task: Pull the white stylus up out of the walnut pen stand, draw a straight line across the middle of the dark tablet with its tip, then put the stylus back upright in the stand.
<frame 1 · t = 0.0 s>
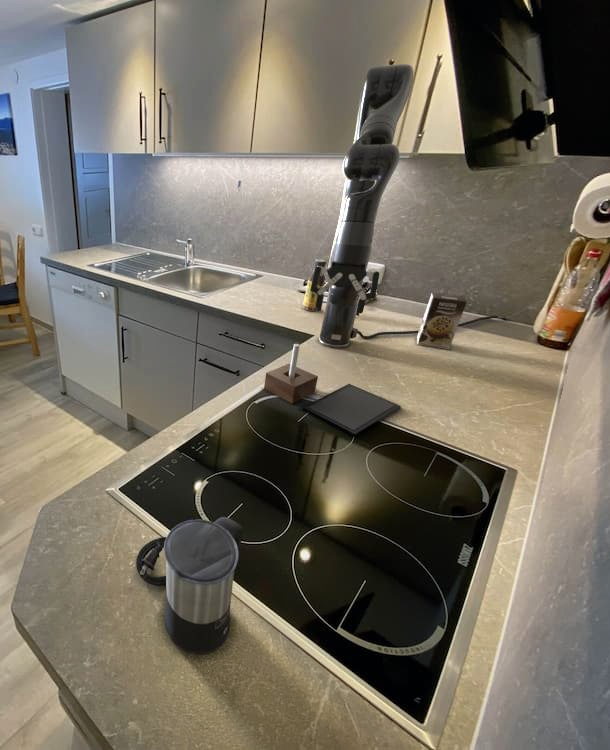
hand: (337, 312, 101), 22 cm above the worktop, tool pointing down, fingers open, 8 cm apart
stylus: (292, 368, 109), in the stand
milk frother: (179, 597, 61), on the worktop
tablet: (351, 409, 104), on the worktop
brown upright rectangular box: (432, 344, 137), on the worktop
stand: (289, 390, 112), on the worktop
sauce bottle: (310, 309, 169), on the worktop
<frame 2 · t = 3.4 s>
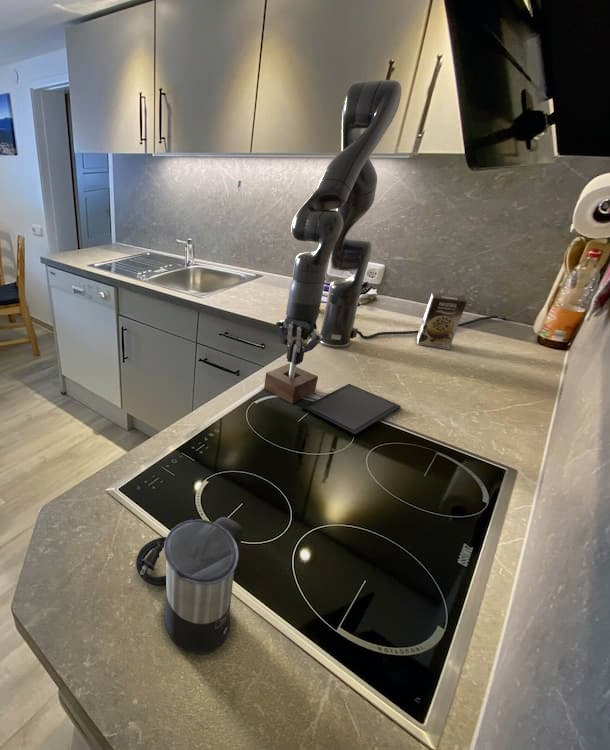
hand: (293, 362, 108), 9 cm above the worktop, tool pointing down, fingers closed on stylus, 1 cm apart
stylus: (292, 368, 109), in the stand, touching gripper
everything else where it was.
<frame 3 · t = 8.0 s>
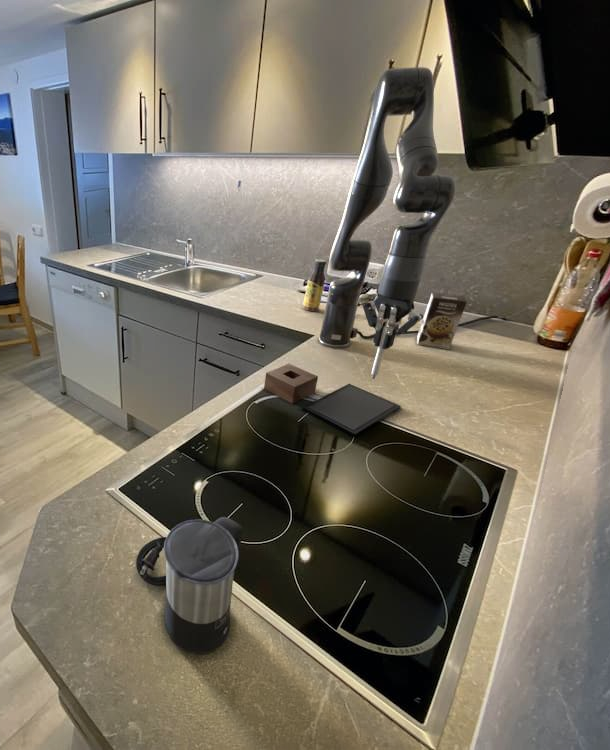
hand: (381, 346, 100), 15 cm above the worktop, tool pointing down, fingers closed on stylus, 1 cm apart
stylus: (379, 353, 101), point 14 cm above the worktop, touching gripper
everything else where it was.
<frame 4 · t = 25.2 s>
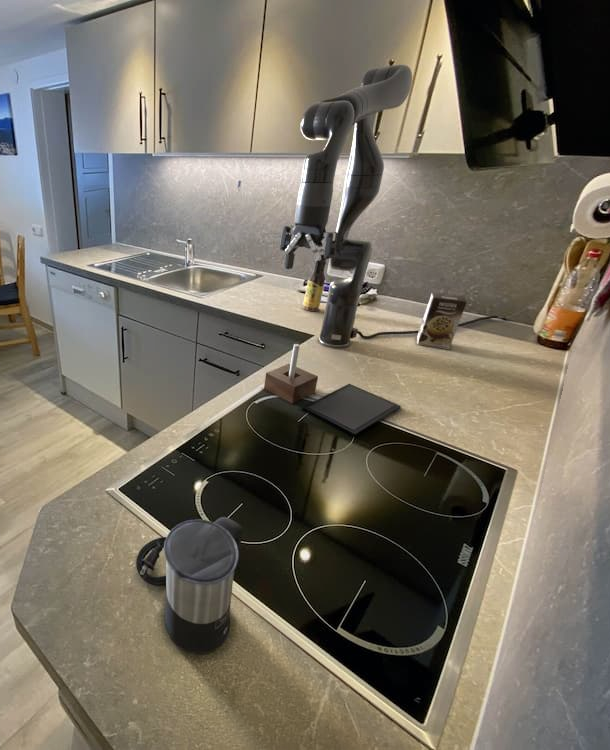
hand: (302, 271, 105), 30 cm above the worktop, tool pointing down, fingers open, 8 cm apart
stylus: (292, 368, 109), in the stand
everything else where it was.
at the end: stylus 0.1 cm off-centre in the stand, point 6.8 cm above the stand's base; stylus tilted 0°; the gripper is holding nothing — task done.
